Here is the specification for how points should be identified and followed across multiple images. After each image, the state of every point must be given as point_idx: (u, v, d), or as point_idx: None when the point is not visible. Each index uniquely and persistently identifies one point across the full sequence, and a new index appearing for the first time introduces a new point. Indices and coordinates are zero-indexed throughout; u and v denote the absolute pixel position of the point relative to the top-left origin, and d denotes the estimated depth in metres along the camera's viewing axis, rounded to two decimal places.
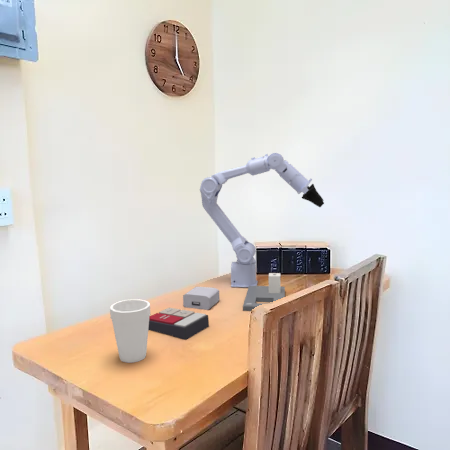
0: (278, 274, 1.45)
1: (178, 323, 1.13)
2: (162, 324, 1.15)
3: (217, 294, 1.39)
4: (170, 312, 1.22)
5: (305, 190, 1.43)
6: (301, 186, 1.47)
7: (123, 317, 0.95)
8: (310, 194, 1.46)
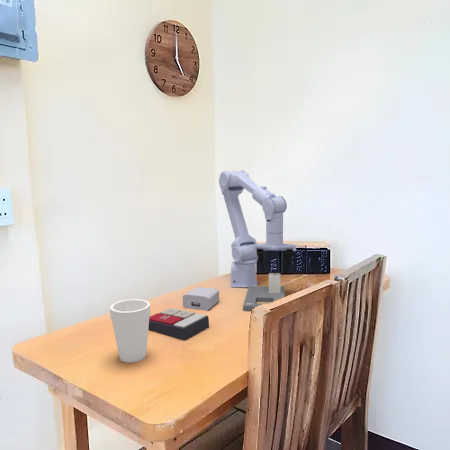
0: (278, 274, 1.45)
1: (177, 324, 1.13)
2: (162, 324, 1.15)
3: (217, 295, 1.38)
4: (170, 312, 1.22)
5: None
6: (266, 243, 1.44)
7: (123, 317, 0.95)
8: None
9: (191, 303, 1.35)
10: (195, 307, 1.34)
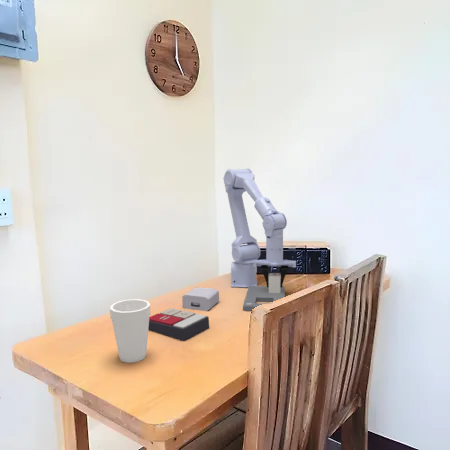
0: (278, 274, 1.45)
1: (177, 324, 1.12)
2: (161, 325, 1.14)
3: (217, 295, 1.38)
4: (171, 313, 1.21)
5: None
6: (266, 259, 1.45)
7: (123, 317, 0.95)
8: None
9: (191, 303, 1.35)
10: (195, 307, 1.33)
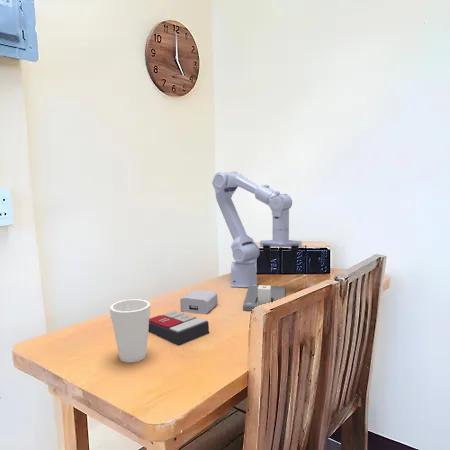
0: (268, 287, 1.36)
1: (173, 328, 1.10)
2: (159, 327, 1.13)
3: (215, 298, 1.35)
4: (172, 315, 1.20)
5: (260, 244, 1.48)
6: None
7: (123, 317, 0.96)
8: None
9: (189, 306, 1.32)
10: (193, 311, 1.31)
